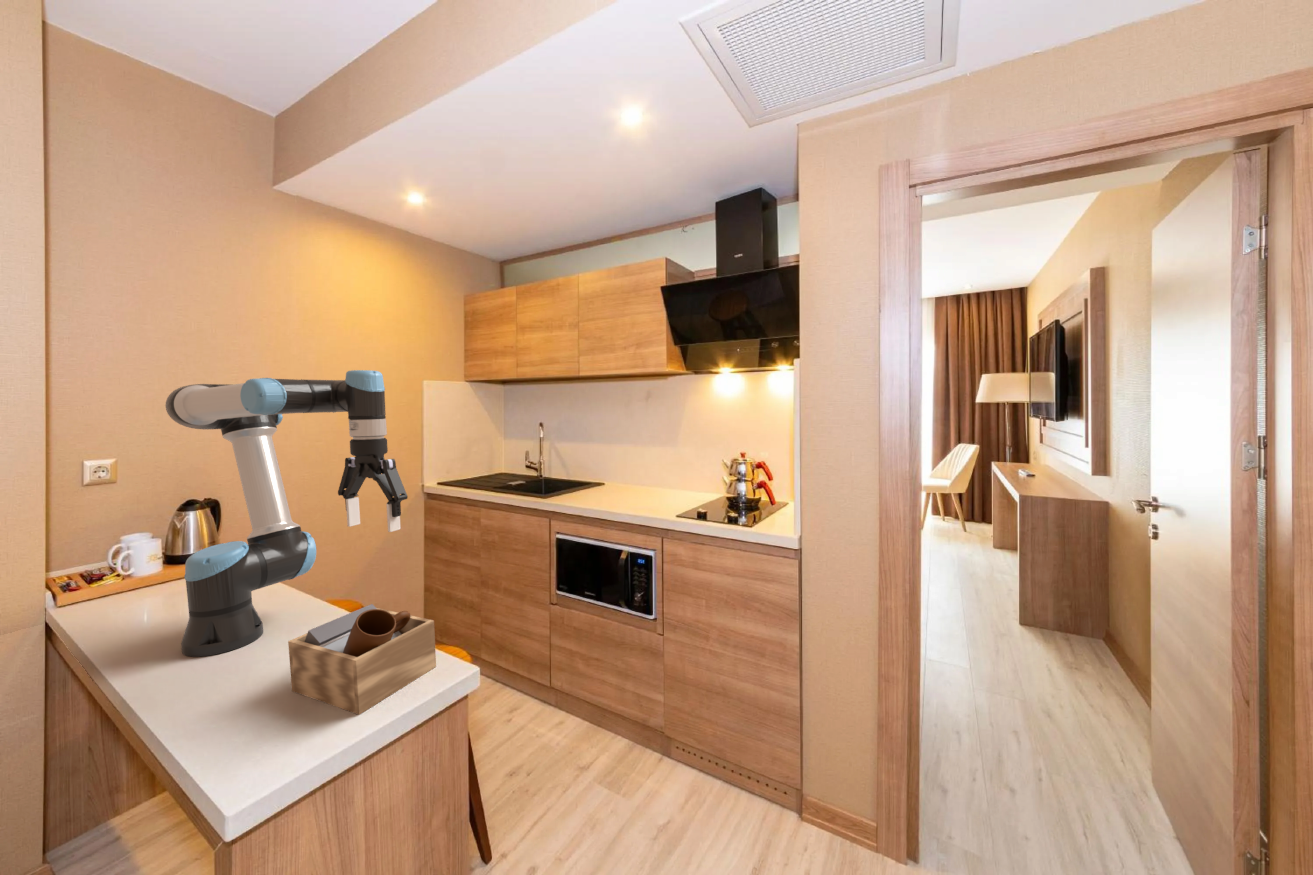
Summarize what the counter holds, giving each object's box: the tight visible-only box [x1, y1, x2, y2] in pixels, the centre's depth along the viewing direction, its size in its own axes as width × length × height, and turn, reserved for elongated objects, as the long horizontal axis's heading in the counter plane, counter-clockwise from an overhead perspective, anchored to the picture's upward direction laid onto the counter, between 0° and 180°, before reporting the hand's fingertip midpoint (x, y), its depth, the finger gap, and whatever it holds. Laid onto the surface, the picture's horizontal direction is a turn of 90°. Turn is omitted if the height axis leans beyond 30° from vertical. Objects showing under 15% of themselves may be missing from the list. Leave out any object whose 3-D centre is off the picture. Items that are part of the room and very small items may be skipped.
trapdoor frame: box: [287, 607, 437, 716], centre depth 105 cm, size 20×18×10 cm
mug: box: [343, 608, 412, 657], centre depth 103 cm, size 12×8×9 cm
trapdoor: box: [304, 603, 402, 653], centre depth 106 cm, size 14×15×4 cm
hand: (373, 527), depth 117 cm, fingers open, 13 cm apart
